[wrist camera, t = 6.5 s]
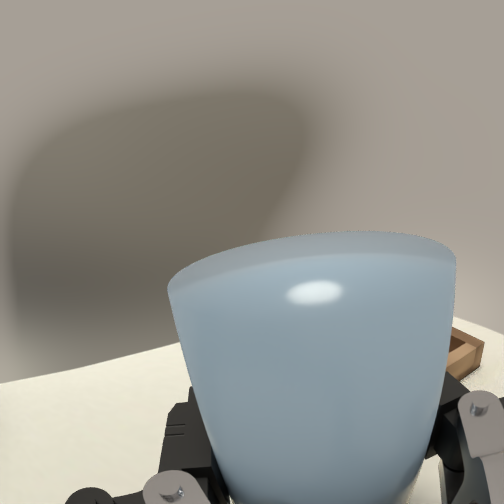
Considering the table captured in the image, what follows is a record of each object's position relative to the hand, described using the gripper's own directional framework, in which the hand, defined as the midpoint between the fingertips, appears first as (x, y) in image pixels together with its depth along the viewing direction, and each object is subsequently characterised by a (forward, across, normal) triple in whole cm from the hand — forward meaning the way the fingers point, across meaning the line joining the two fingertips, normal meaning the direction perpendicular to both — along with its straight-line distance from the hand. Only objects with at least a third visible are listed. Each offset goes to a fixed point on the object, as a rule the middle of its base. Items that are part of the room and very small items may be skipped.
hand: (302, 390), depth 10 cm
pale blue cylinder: (-3, 0, +7) cm, 7 cm away
